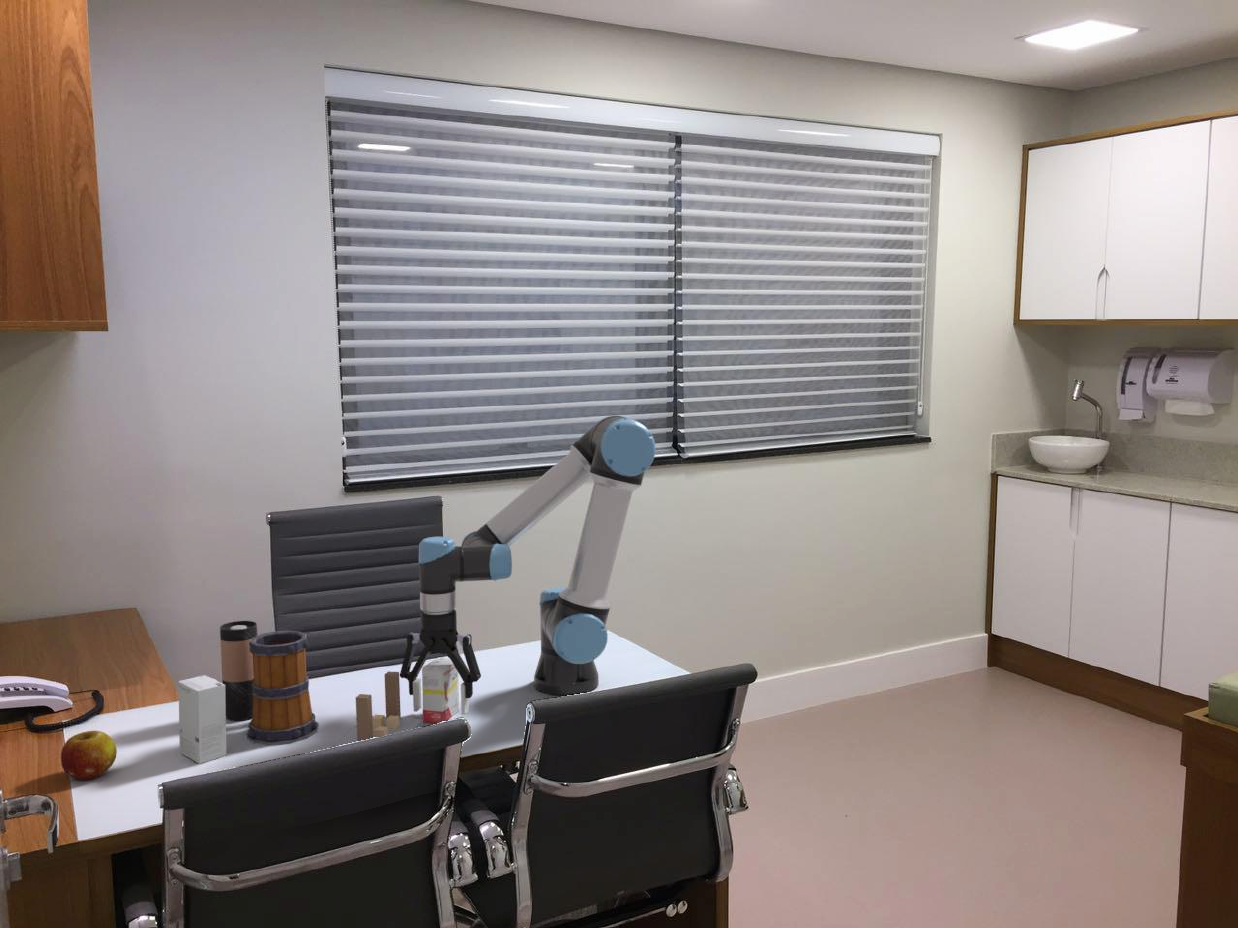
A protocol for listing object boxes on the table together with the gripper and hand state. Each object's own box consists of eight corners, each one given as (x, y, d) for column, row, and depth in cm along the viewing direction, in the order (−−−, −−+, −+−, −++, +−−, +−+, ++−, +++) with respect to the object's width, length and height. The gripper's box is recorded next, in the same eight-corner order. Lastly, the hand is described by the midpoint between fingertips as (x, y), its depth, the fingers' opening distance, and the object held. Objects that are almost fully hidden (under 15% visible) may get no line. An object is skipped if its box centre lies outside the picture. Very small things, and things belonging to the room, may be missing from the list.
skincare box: (179, 754, 200) (174, 681, 199) (208, 744, 205) (204, 673, 203) (200, 765, 195) (196, 690, 193) (230, 755, 200) (225, 681, 198)
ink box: (443, 724, 215) (441, 670, 213) (421, 722, 216) (420, 668, 215) (460, 710, 223) (459, 658, 222) (439, 708, 224) (438, 656, 223)
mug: (270, 710, 224) (265, 621, 222) (335, 710, 223) (331, 621, 221) (234, 745, 205) (229, 648, 202) (305, 745, 204) (301, 648, 202)
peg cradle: (422, 725, 214) (420, 673, 213) (392, 756, 198) (390, 699, 197) (368, 722, 216) (366, 670, 215) (334, 752, 201) (332, 696, 199)
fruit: (50, 780, 189) (46, 739, 188) (90, 761, 197) (88, 722, 196) (88, 788, 185) (85, 746, 184) (128, 768, 194) (126, 728, 193)
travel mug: (269, 710, 224) (264, 622, 221) (245, 723, 216) (241, 631, 214) (240, 707, 226) (235, 619, 224) (216, 719, 219) (211, 628, 217)
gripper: (494, 607, 218) (497, 707, 221) (394, 603, 222) (398, 701, 225) (484, 616, 211) (486, 719, 214) (381, 612, 215) (384, 713, 218)
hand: (441, 710), depth 219 cm, fingers open, 10 cm apart
